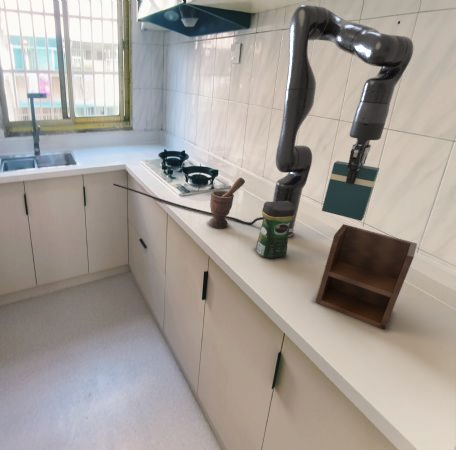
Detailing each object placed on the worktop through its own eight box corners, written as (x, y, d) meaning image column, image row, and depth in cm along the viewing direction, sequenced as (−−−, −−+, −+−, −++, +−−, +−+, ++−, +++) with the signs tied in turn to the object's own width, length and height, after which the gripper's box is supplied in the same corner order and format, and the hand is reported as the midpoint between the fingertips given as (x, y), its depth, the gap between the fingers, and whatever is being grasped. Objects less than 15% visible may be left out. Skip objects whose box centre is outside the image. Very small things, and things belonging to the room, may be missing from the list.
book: (321, 210, 104) (333, 162, 98) (324, 207, 106) (336, 160, 100) (361, 221, 97) (377, 170, 91) (363, 217, 100) (379, 168, 94)
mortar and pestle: (231, 219, 140) (237, 172, 132) (240, 228, 132) (247, 179, 124) (204, 221, 138) (210, 173, 130) (212, 229, 130) (218, 179, 122)
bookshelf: (315, 302, 90) (334, 234, 82) (324, 287, 96) (343, 224, 88) (384, 329, 81) (413, 257, 73) (389, 312, 87) (417, 243, 79)
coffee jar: (277, 247, 119) (287, 197, 111) (289, 258, 112) (301, 205, 104) (251, 248, 117) (260, 198, 109) (262, 260, 110) (272, 206, 102)
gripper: (359, 116, 98) (343, 174, 105) (348, 120, 88) (331, 184, 95) (389, 119, 93) (370, 179, 101) (381, 124, 83) (360, 190, 90)
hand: (351, 181), depth 98 cm, fingers closed on book, 3 cm apart
